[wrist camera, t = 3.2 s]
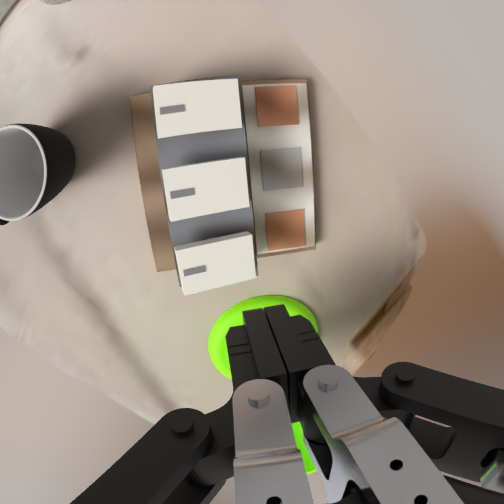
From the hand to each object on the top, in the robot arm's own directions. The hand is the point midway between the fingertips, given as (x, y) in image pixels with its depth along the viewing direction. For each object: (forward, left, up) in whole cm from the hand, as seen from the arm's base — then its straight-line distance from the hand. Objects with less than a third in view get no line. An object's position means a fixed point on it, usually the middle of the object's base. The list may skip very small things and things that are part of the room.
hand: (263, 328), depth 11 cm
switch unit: (-2, +1, -26) cm, 26 cm away
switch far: (+5, -1, -18) cm, 18 cm away
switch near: (-9, -1, -18) cm, 20 cm away
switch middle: (-2, -1, -18) cm, 18 cm away
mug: (-6, -20, -26) cm, 34 cm away
